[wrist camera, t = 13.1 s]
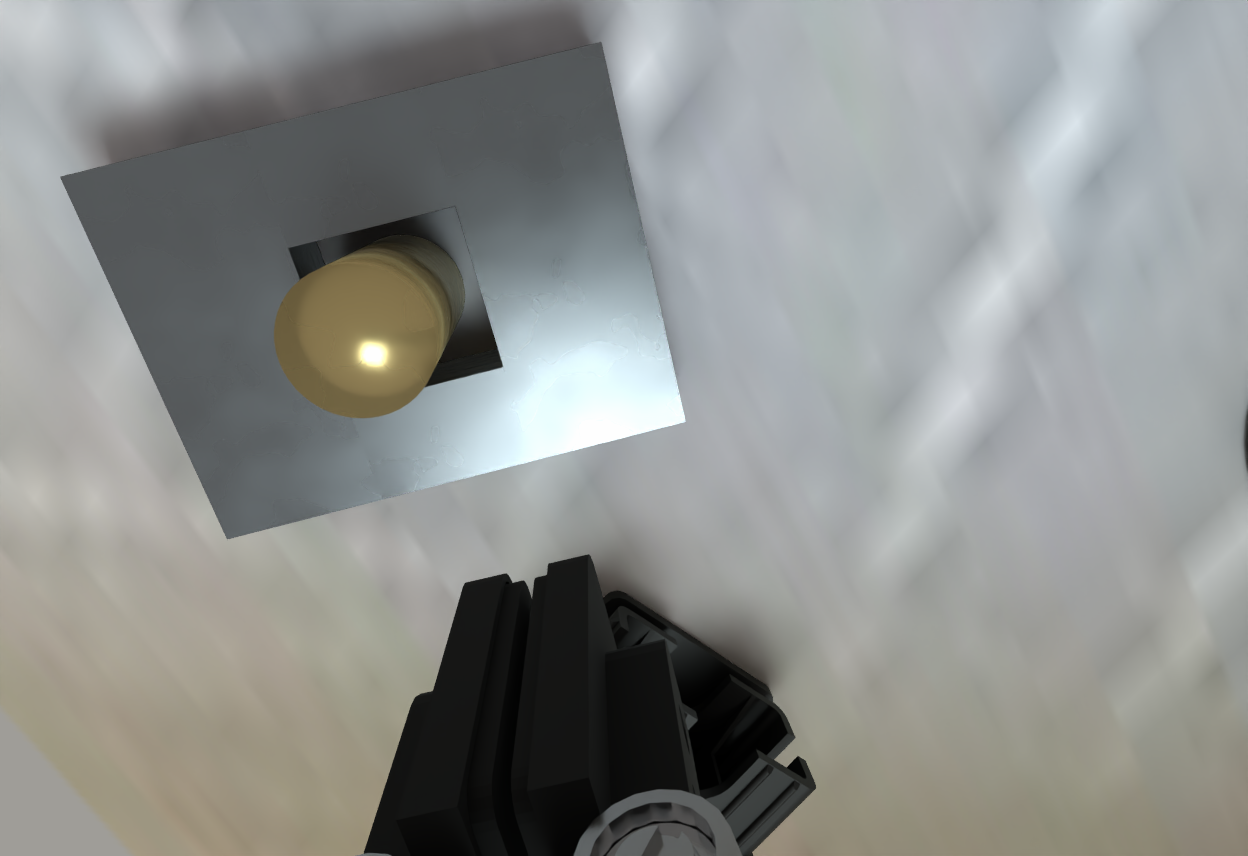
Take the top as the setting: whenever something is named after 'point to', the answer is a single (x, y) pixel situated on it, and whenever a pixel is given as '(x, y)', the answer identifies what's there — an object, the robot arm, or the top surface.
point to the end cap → (724, 727)
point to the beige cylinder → (370, 326)
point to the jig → (370, 196)
